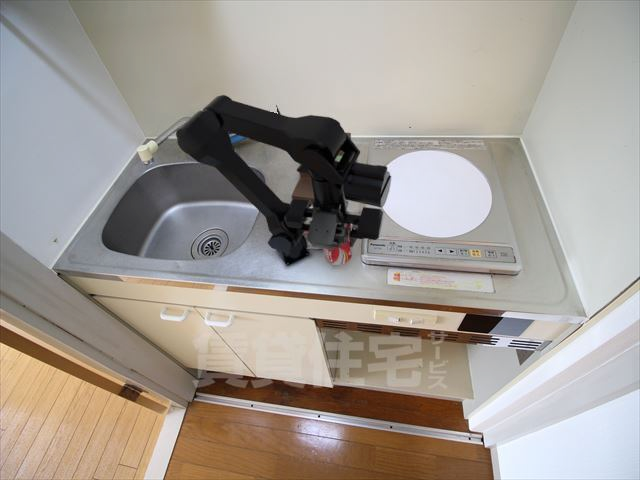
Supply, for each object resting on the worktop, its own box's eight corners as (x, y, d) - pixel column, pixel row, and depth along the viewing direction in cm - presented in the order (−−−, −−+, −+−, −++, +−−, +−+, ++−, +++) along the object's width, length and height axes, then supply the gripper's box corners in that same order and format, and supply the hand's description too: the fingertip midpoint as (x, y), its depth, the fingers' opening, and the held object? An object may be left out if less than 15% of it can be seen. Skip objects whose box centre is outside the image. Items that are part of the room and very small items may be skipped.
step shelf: (332, 206, 86) (329, 187, 81) (293, 201, 90) (287, 182, 84) (352, 153, 100) (350, 132, 94) (316, 150, 103) (313, 130, 97)
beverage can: (349, 268, 68) (348, 235, 59) (322, 265, 69) (316, 232, 60) (353, 245, 72) (352, 211, 62) (327, 243, 73) (322, 208, 63)
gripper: (264, 217, 53) (284, 266, 65) (373, 233, 48) (373, 283, 60) (286, 174, 59) (301, 226, 71) (385, 184, 54) (382, 238, 66)
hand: (337, 243), depth 67 cm, fingers closed on beverage can, 6 cm apart
